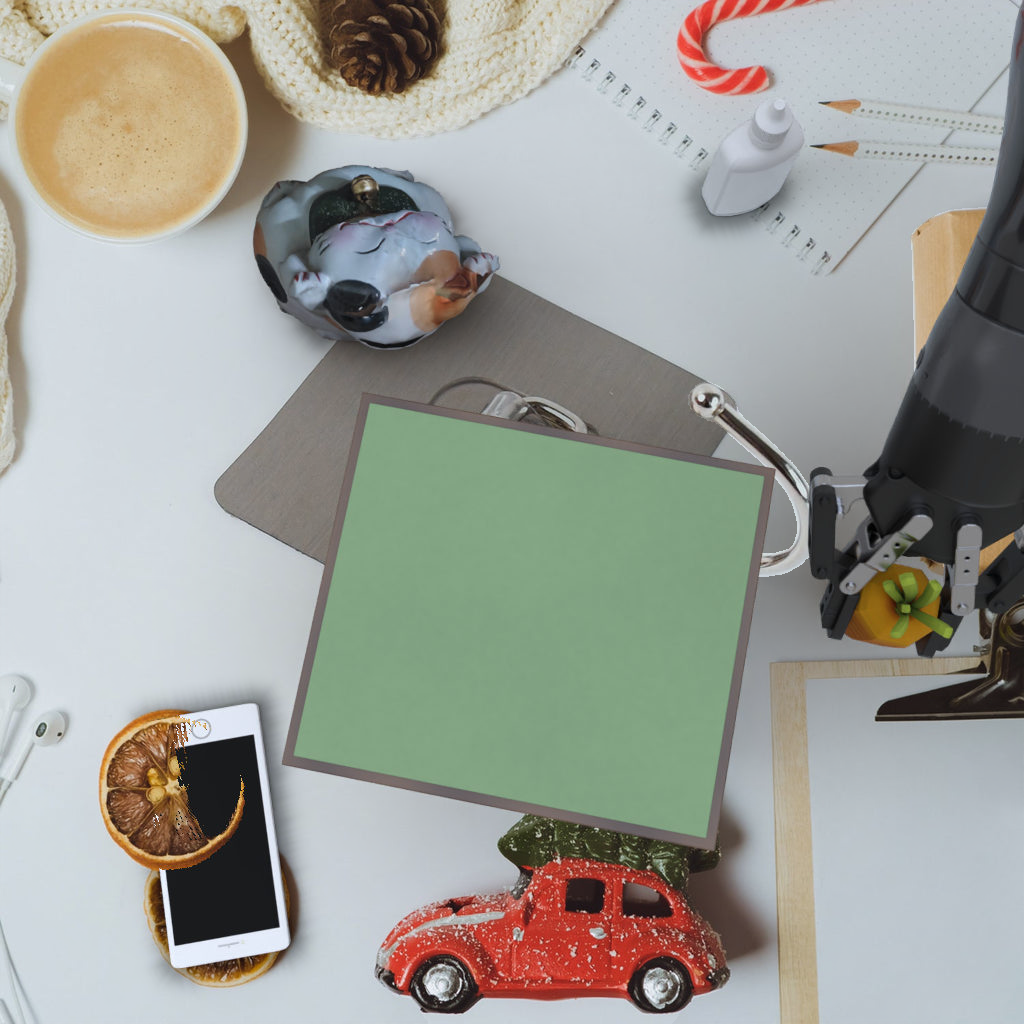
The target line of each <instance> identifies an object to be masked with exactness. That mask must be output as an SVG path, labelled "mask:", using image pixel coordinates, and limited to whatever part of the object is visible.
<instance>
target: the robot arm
mask: <svg viewBox="0 0 1024 1024" xmlns="http://www.w3.org/2000/svg"><path fill="white" fill-rule="evenodd" d="M1013 31H1014V32H1013V38H1012V43H1011V51H1010V62H1009V73H1008V82H1007V83H1008V84H1007V94H1006V102H1005V103H1006V105H1005V113H1004V120H1003V128H1002V134H1001V140H1000V145H999V152H998V158H997V163H996V169H995V173H994V178H993V182H992V188H991V192H990V196H989V199H988V203H987V206H986V209H985V212H984V215H983V216H982V217H983V218H982V220H981V222H980V224H979V227H978V229H977V232H976V234H975V237H974V239H973V242H972V244H971V247H970V249H969V252H968V254H967V256H966V259H965V260H964V264H963V266H962V269H961V271H960V273H959V275H958V278H957V282H956V284H955V285H954V288H953V289H952V292H951V294H950V296H949V297H948V299H947V301H946V303H945V304H944V306H943V308H942V309H941V311H940V312H939V315H938V316H937V318H936V320H935V322H934V324H933V327H931V330H930V333H929V335H928V337H927V340H926V342H925V344H924V345H923V347H922V348H920V350H919V353H918V355H917V358H916V361H915V368H914V370H913V371H914V372H913V373H912V377H911V378H910V381H909V383H908V386H907V388H906V390H905V393H904V396H903V398H902V401H901V403H900V406H899V408H898V411H897V414H896V416H895V418H894V420H893V423H892V425H891V428H890V430H889V433H888V434H887V438H886V440H885V442H884V446H883V448H882V451H881V454H880V455H879V457H878V458H877V459H876V460H875V462H873V463H872V464H870V465H869V466H868V467H867V468H866V469H865V470H864V472H863V473H862V474H861V475H834V474H833V471H832V470H831V469H830V468H829V467H827V466H818V467H815V468H813V469H812V470H811V471H810V473H809V482H808V483H809V485H808V486H809V487H808V523H807V527H808V528H807V550H808V559H809V567H810V574H811V576H812V577H813V578H814V579H817V580H819V581H822V580H828V582H827V583H828V584H827V586H826V588H825V591H824V593H823V595H822V598H821V600H820V603H819V612H820V613H819V614H820V623H821V628H822V629H825V630H826V636H827V638H828V639H830V640H835V641H842V640H843V638H844V636H845V631H846V629H847V627H848V624H849V622H850V620H851V618H852V615H853V613H854V611H855V609H856V606H857V604H858V602H859V599H860V590H861V589H862V588H863V587H864V586H865V585H866V584H867V583H868V582H869V581H870V580H871V579H872V578H873V577H874V576H875V575H876V574H877V573H878V572H881V573H884V572H885V571H887V570H888V569H889V568H890V566H891V565H892V564H893V563H896V562H897V561H898V560H899V559H900V558H901V557H905V558H926V559H927V560H930V561H933V562H935V563H938V564H942V565H943V577H942V578H943V579H942V580H943V581H942V582H943V586H942V590H941V592H940V594H939V596H940V597H941V598H940V604H939V610H938V615H937V618H938V619H940V620H941V621H943V622H944V623H946V624H948V625H949V626H950V627H951V628H953V632H952V635H951V637H950V638H945V637H943V636H941V635H940V634H938V633H936V632H935V631H934V630H933V631H932V632H930V633H928V634H927V635H925V636H924V637H922V638H921V639H919V640H917V641H916V642H914V645H915V650H916V654H917V656H918V657H921V658H925V659H926V658H927V659H933V657H934V656H935V654H936V652H943V651H945V650H946V649H947V648H948V647H949V646H950V644H951V642H952V639H954V636H955V634H956V633H957V630H958V629H959V627H960V625H961V623H962V621H963V620H964V617H965V616H968V615H969V614H972V613H973V611H974V610H982V609H987V610H988V611H989V612H990V613H992V614H994V615H1002V614H1006V613H1007V612H1008V611H1010V610H1011V609H1012V608H1013V607H1014V605H1016V604H1017V602H1019V600H1021V599H1022V597H1024V0H1021V3H1020V6H1019V9H1018V12H1017V15H1016V20H1015V26H1014V30H1013ZM859 500H863V501H864V503H865V505H866V507H867V510H868V512H869V513H868V515H867V516H866V517H865V518H864V519H863V520H862V522H861V523H859V525H858V527H857V528H856V532H855V535H854V536H853V538H851V540H850V541H849V542H848V543H847V544H846V545H845V546H844V547H843V548H842V549H841V550H840V549H838V548H836V529H837V527H836V525H837V522H836V521H837V520H838V521H839V520H843V519H844V518H845V517H846V515H848V514H849V512H851V511H850V510H851V508H852V505H853V504H854V503H855V502H857V501H859ZM1012 534H1013V539H1012V540H1011V542H1009V543H1008V545H1007V546H1006V547H1005V548H1004V549H1003V550H1002V551H1001V552H1000V553H999V554H998V555H997V556H996V557H995V558H994V560H992V562H990V563H989V565H988V566H987V567H986V568H985V569H984V570H983V571H982V572H981V573H979V572H980V559H981V558H980V557H981V551H982V550H985V549H987V548H988V547H990V546H991V545H993V544H996V543H997V542H999V541H1000V540H1002V539H1005V538H1006V537H1008V536H1009V535H1012ZM979 574H980V575H979Z"/></svg>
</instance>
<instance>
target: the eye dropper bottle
mask: <svg viewBox="0 0 1024 1024" xmlns="http://www.w3.org/2000/svg"><path fill="white" fill-rule="evenodd" d="M804 144H805V134H804V131H803V129H802V126H801V124H800V122H799V121H798V119H797V118H796V116H794V113H793V110H792V108H791V106H790V105H789V104H788V103H787V102H786V101H785V100H783V99H782V98H778V99H777V98H769V99H766V100H764V101H762V102H761V103H759V104H758V106H757V107H756V109H755V111H754V113H753V116H752V118H750V119H748V120H746V121H744V122H743V123H741V124H739V125H737V126H736V127H735V128H733V129H732V130H731V131H730V132H729V133H728V134H727V135H726V136H724V138H723V139H722V140H721V141H720V143H719V145H718V147H717V149H716V151H715V154H714V156H713V159H712V161H711V163H710V167H709V169H708V171H707V174H706V177H705V180H704V183H703V185H702V188H701V196H702V199H703V201H704V203H705V205H706V208H707V209H708V212H710V214H711V215H713V216H716V217H730V216H731V217H732V216H739V215H743V214H746V213H749V212H752V211H754V210H756V209H759V208H760V207H762V206H763V205H765V204H766V203H767V202H769V201H770V200H771V199H773V198H774V197H775V196H776V195H777V194H778V193H779V192H780V190H781V189H782V187H783V185H784V183H785V181H786V179H787V178H788V176H789V174H790V172H791V170H792V168H793V166H794V164H795V162H796V161H797V159H798V157H799V155H800V153H801V150H802V149H803V146H804Z"/></svg>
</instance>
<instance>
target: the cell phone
mask: <svg viewBox="0 0 1024 1024" xmlns="http://www.w3.org/2000/svg"><path fill="white" fill-rule="evenodd" d="M260 712H261V711H260V706H259V705H258V704H257V703H254V702H249V703H247V702H246V703H242V704H236V705H232V706H231V705H230V706H225V707H219V708H213V709H208V710H202V711H197V712H196V711H195V712H190V713H185V714H180V715H179V716H180V718H182V717H183V718H185V720H186V719H187V720H188V719H190V725H191V727H190V725H189V724H188V723H187V722H186V723H185V725H186V731H187V737H188V742H187V741H186V739H185V738H184V736H183V735H182V737H183V738H184V740H185V742H184V740H183V742H184V747H185V749H184V748H183V746H182V745H181V743H180V742H179V740H178V742H179V747H180V749H179V748H178V750H179V751H178V750H177V749H176V747H175V751H176V756H177V760H178V764H179V763H180V764H181V765H184V768H185V770H184V769H183V768H182V766H181V765H180V764H179V768H180V767H181V769H180V772H181V775H180V776H181V779H182V780H181V779H180V777H179V776H178V778H177V779H178V782H179V786H180V787H181V786H183V784H184V786H185V787H186V788H187V790H186V792H187V795H188V800H189V801H188V800H187V801H188V803H189V804H188V803H187V804H188V806H189V807H190V808H189V807H188V806H187V805H186V806H187V807H188V809H189V810H190V809H191V810H192V811H191V810H190V812H191V813H192V814H193V815H194V816H195V817H196V818H195V817H194V816H193V815H192V814H191V813H190V812H189V810H188V812H189V814H190V815H191V816H193V817H194V818H195V819H197V821H198V823H199V826H200V828H201V830H202V832H203V834H204V836H206V837H208V836H210V838H212V837H214V836H218V835H219V834H221V833H222V832H223V831H225V830H226V828H227V827H228V826H229V821H231V817H232V813H233V814H234V812H235V807H236V808H237V803H238V800H239V798H240V797H239V796H240V791H242V790H241V782H242V781H243V783H244V786H245V787H244V789H243V790H244V792H243V794H244V795H243V794H242V795H243V797H244V800H245V805H244V807H243V815H242V817H241V819H242V820H241V821H240V822H239V824H238V825H239V826H238V828H237V829H236V831H235V833H234V834H233V835H232V837H231V838H230V839H228V840H229V841H227V842H226V843H225V845H223V846H221V848H220V849H218V850H217V852H215V853H213V854H212V855H211V856H210V858H207V859H206V860H204V861H201V863H198V864H197V865H193V866H192V867H189V868H188V867H187V868H182V869H181V868H180V869H174V870H171V869H169V870H166V869H165V870H162V869H160V868H159V874H160V875H159V876H160V885H161V890H162V901H163V908H164V917H165V926H166V932H167V943H168V949H169V958H170V963H171V964H170V965H171V966H172V967H173V968H175V969H185V968H189V967H190V968H191V967H195V966H203V965H208V964H212V963H217V962H224V961H229V960H235V959H241V958H246V957H247V958H248V957H252V956H257V955H264V954H270V953H274V952H279V951H283V950H286V949H287V948H289V946H290V944H291V942H292V939H291V933H290V926H289V919H288V911H287V905H286V897H285V890H284V883H283V875H282V869H281V868H282V867H281V861H280V860H281V859H280V853H279V846H278V838H277V831H276V824H275V823H276V822H275V816H274V810H273V802H272V794H271V788H270V780H269V772H268V766H267V757H266V751H265V743H264V735H263V728H262V720H261V714H260ZM183 718H182V719H183ZM194 720H195V725H196V727H195V725H194V724H193V722H192V721H194ZM197 721H198V722H200V724H201V726H200V725H199V723H198V722H197ZM204 723H206V729H207V730H206V729H205V728H204V727H203V725H205V724H204ZM182 726H184V724H183V723H181V731H182V734H184V732H183V731H184V728H183V727H182ZM209 726H210V727H209ZM176 727H177V725H176ZM177 728H178V727H177ZM210 728H211V729H210ZM178 729H179V728H178ZM189 729H190V730H191V731H192V732H191V731H190V730H189ZM176 730H177V729H176ZM189 733H190V734H189ZM177 734H179V733H178V731H177ZM177 736H178V735H177ZM178 739H179V736H178ZM173 741H174V740H173ZM174 743H175V742H174ZM175 744H176V743H175ZM170 748H171V747H170ZM184 750H185V752H186V754H185V753H184ZM171 754H172V752H171ZM185 757H187V759H186V758H185ZM186 761H187V763H186ZM181 762H183V764H182V763H181ZM240 775H241V776H240ZM241 778H242V781H241ZM188 784H189V785H188ZM187 786H188V787H187ZM181 788H182V787H181ZM186 788H185V789H186ZM188 788H189V789H188ZM182 795H183V794H182ZM178 812H179V811H178ZM179 814H180V812H179ZM155 815H156V814H155ZM160 816H162V815H161V814H160ZM176 816H177V815H176ZM191 816H190V817H191ZM152 817H153V816H152ZM180 817H181V816H180ZM185 817H186V816H185ZM156 818H157V820H158V818H159V817H158V816H157V815H156ZM186 818H187V817H186ZM191 818H192V817H191ZM154 819H155V818H154V817H153V825H155V824H154V822H155V821H154ZM181 819H182V817H181ZM192 819H193V818H192ZM229 819H230V820H229ZM162 820H163V819H162ZM176 820H178V819H177V818H176ZM193 820H194V819H193ZM158 822H159V820H158ZM182 822H183V821H182ZM187 822H188V821H187ZM192 822H193V821H192ZM159 825H160V824H159ZM178 825H180V824H179V823H178ZM203 825H204V826H203ZM226 825H227V826H226ZM155 826H156V825H155ZM155 826H154V827H155ZM189 827H190V826H189ZM195 828H196V827H195ZM175 829H176V828H175ZM180 829H181V828H180ZM190 829H191V830H193V829H192V828H191V827H190ZM196 830H198V829H197V828H196ZM176 831H178V830H177V829H176ZM198 831H199V830H198ZM192 833H193V832H192ZM197 833H198V832H197ZM200 833H201V832H200ZM177 834H178V833H177ZM182 834H183V833H182ZM187 834H188V833H187ZM178 835H179V834H178ZM188 835H189V834H188ZM193 835H194V836H196V835H195V834H194V833H193ZM198 835H199V837H200V839H202V838H201V835H200V834H199V833H198ZM207 835H208V836H207ZM206 837H205V838H206ZM189 838H190V837H189ZM194 838H195V837H194ZM179 839H180V838H179ZM190 840H192V839H191V838H190ZM195 840H197V839H196V838H195Z"/></svg>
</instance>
